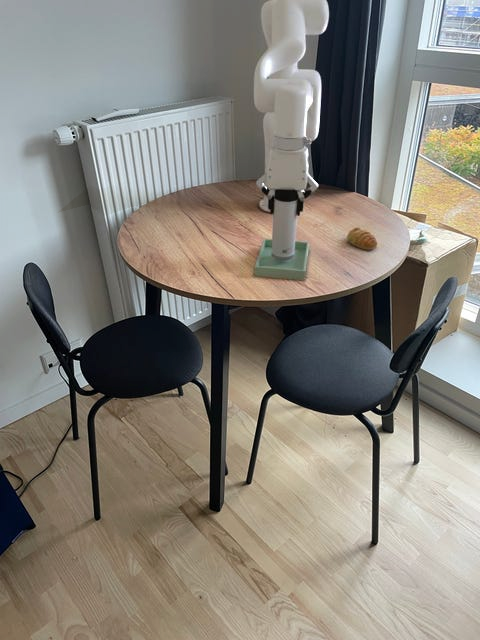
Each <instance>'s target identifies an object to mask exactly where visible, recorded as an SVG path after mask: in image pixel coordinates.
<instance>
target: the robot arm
mask: <svg viewBox="0 0 480 640" xmlns="http://www.w3.org/2000/svg"><path fill="white" fill-rule="evenodd" d="M329 18H330V10H329V3H328V1H327V0H268V1H266V2H264V3H263V5H262V7H261V10H260V21H261V28H262V32H263V35H264V38H265V42H266V45H267V50H266V51H264V53H263V54H262V55H261V57H260V58H259V60H258V62H257V64H256V66H255V69H254V74H253V75H254V77H253V103H254V106H255V108H256V110H257V111H258V112H260V113H263V114H264V116H263V120H262V128H263V138H264V174H263V175H262V176H261V177H260V178H259V179H257V180H256V182H255V185H256V186H257V188H258V189H259V190H260V191H261V192H262V193H263V198H262V199H261V200H260V201H259V203H258V206H259V208H260V209H261V210H262V211H264V212H267V213H269V214H270V215H273V210H274V194H275V190H294V189H295V190H296V191H297V190H298V191H297V193H298V205H297V217H300V216H301V212H302V213H303V212H304V202H305V200H306V199H307V198H308V197H309V196H311V195H312V194H313V193H314V192H315V191H316V190H318V188H319V184H318V183H317V182H316V181H315V180H314V179H313V177H312V176H311V175H310V173H309V149H308V148H309V147H307V146H308V145H311V144H312V142H314V141H315V140H316V139H317V138H318V135H319V131H320V130H319V129H320V118H321V117H320V116H321V100H322V79H321V78H322V77H321V75H320V73H319V72H318V71H317V70H315V69H311V68H310V69H309V68H307V69H301V68H300V69H299V67H298V63H299V62H300V60H302V59H303V57H304V56H305V53H306V50H307V42H306V36H318V35H322V34H323V33H324V32H325V31H326V30H327V27H328V24H329V20H330V19H329ZM308 184H309V188H307V185H308Z"/></svg>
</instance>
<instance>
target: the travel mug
mask: <svg viewBox="0 0 480 640" xmlns="http://www.w3.org/2000/svg"><path fill="white" fill-rule="evenodd" d="M297 191H298V190H297ZM297 191H296V190H295V189H294V190H275V194H274V210H273V214H272V233H271V239H272V253H271V255H272V257H273V258H275V259H277V260H290V259H292V258H293V257H294V250H295V241H296V237H297V236H296V234H297V223H298V215H297V205H298V198H299V196H298V193H297Z"/></svg>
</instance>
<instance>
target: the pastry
mask: <svg viewBox="0 0 480 640" xmlns="http://www.w3.org/2000/svg"><path fill="white" fill-rule="evenodd" d="M346 239H347V241H348V242H349V243H350V244H351V245H353V246H354V247H355V246H356V247H357V248H359V249H362V250H367V251H370V250H373V249H375V248H377V246H378V241H377V238H375V237H374V235H373V234H372V233H371V231H368V229H362V228H361V227H354V228H352V229H351V230H349V232H348V233H347V235H346Z"/></svg>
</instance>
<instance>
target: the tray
mask: <svg viewBox="0 0 480 640" xmlns="http://www.w3.org/2000/svg"><path fill="white" fill-rule="evenodd" d="M309 248H310V241H303V240H302V241H301V240H295V250H294V257H293V258H292V259H290V260H277V259H275V258H273V257H272V255H271V253H272V238H263V240H262V243H261V246H260V249H259V252H258V256H257V259H256V262H255V265H254V277H261V278H262V277H263V278H273V279H285V280H296V281H305V278H306V271H307V264H308V257H309Z"/></svg>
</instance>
